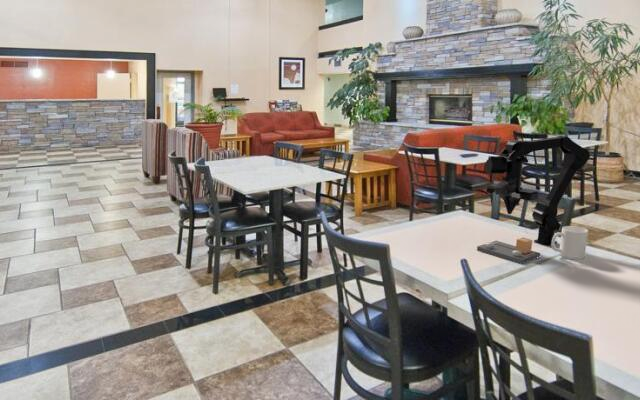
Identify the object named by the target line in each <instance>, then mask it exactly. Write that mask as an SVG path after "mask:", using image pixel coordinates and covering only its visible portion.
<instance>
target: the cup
mask: <svg viewBox="0 0 640 400" xmlns="http://www.w3.org/2000/svg"><path fill="white" fill-rule="evenodd" d="M561 227H562V228H561V232H559V231H558V232H555V235H554V236H553V238H552V243H551V245H550V246H551V249H552V250H553V251H555V252H558V253H559V255H560V257H562V258H564V259H569V260H574V261H575V260H576V261H577V260H579V261H580V260H583V259H584V258H585V256H586V250H587V249H586V248H587V244H588V243H587V242H588V236H589V235H588V234H589V229H586V228H585V227H580V226H574V225H565V226H561ZM557 237H560V242H559V248H557V247H556V244H555V241H556V239H557Z"/></svg>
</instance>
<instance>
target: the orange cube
mask: <svg viewBox="0 0 640 400" xmlns="http://www.w3.org/2000/svg"><path fill="white" fill-rule="evenodd" d="M532 245H533V239H530V238H526V237H521V238H520V237H519V238H517V239H516V243H515V246H516V250H518V251H521V253H524V254H525V253H528V252H531V251H532Z"/></svg>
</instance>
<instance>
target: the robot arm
mask: <svg viewBox="0 0 640 400" xmlns="http://www.w3.org/2000/svg"><path fill="white" fill-rule="evenodd" d="M504 146H505V147H504V148H503V149H502V151H501V152H499V154H498V155H497V156H494V155H488V159H486V160H485V163H484V170H485V173H486V174H487V175H503V174H505V175H504V176H502V178H501V179H502V180H501V181H499V182H498V183H493V184H488V185H487V187H486V189H485V193H489V194H494V193H495V195H498V197H499V198H501V199H502V200H503V202H504V205H505V208H506V212H507V214H508V215H512V213H513V211H514V210H515V208H516V207H517V204H519V202H520V201H521V200H525V201H536V200H538V199H539V194H538V191H537V190H530V189H526V190H523V187H522V186H521V185H522V184H521V182H522V181H521V180H524V176H522V172H523V163H529V159H527V158H526V156H527V155H529V154H531V153H534V152H537V151H544V150H551V149H556V148H559V150H560V151H561V152H562V153H563V155H564V156H563V159H562V161H563V162H562V168H561V170H560V172H559V174H558V175H557V178H556V179H555V181H554V183H553V185H552V187H551V188H550V190H549V192H548V194H547V195H546V197H545V199H544V200H543V201H542V202H539V201H537V202H536V204H535V207H534V208H533V209H532V211H531V212H532V213H531V214H532V219H533V220H534V222H535V225H536V226H539V227H538V234H537V239H534V240H533V242H534V243H537V244H542V245H545V246H549V247H550V246H552V245H551V243H552V238H553V236H554V235H555V234H556V231H560V229H561V227H562V225H561V223H560V222H559V221H558V220H557V216H558V209H559V208H558V206H559V204H560V202H561V200H562V198H563V196H564V195H565V193H566V191H567V189H568V187H569V186H570V184H571V182H572V180H573V179H574V177H575V175H576V174H577V172H578V171H579V170H581V169H582V168H584V166H585V165H586V164H587V162H588V161H589V160H590V157H591V154H590V151H589V150H588V149H587V148H584V147H582V146H581V145H580V144H578V143H576V142H575V141H573V140H572V139H571V138H570V137H569V136H565V135H558V136H553V137H547V138H546V137H545V138H540V139H534V140H533V139H531V140H523V139H511V140H508V141H507V142H506V144H505V145H504ZM557 243H558V241H557V240H555V245H556V244H557Z"/></svg>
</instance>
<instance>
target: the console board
mask: <svg viewBox="0 0 640 400" xmlns="http://www.w3.org/2000/svg"><path fill="white" fill-rule="evenodd" d="M476 251H479V252H481V253H485V254H488V255H492V256H495V257H498V258H501V259H504V260H506V261H507V260H508V261H510V260H511V261H510V262H513V261H515V263H517V262H519V263H518V264H520V263H522V264H524V263H523V262H525V263H527V262H526V261H528V262H530V261H529V260H531V259H533V260H535V259H534V258H536V259H538V258H537V257H539V256H540V257H541V252H538V251H535V250H531V252H528V253H525V254H524V253H521V251H518V250H516V245H513V244H509V243H506V242H504V241H503V242H502V241H499V240H495V241H491V242H486V243H485V244H481V245H478V246H476ZM540 257H539V258H540ZM531 261H532V260H531Z"/></svg>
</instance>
